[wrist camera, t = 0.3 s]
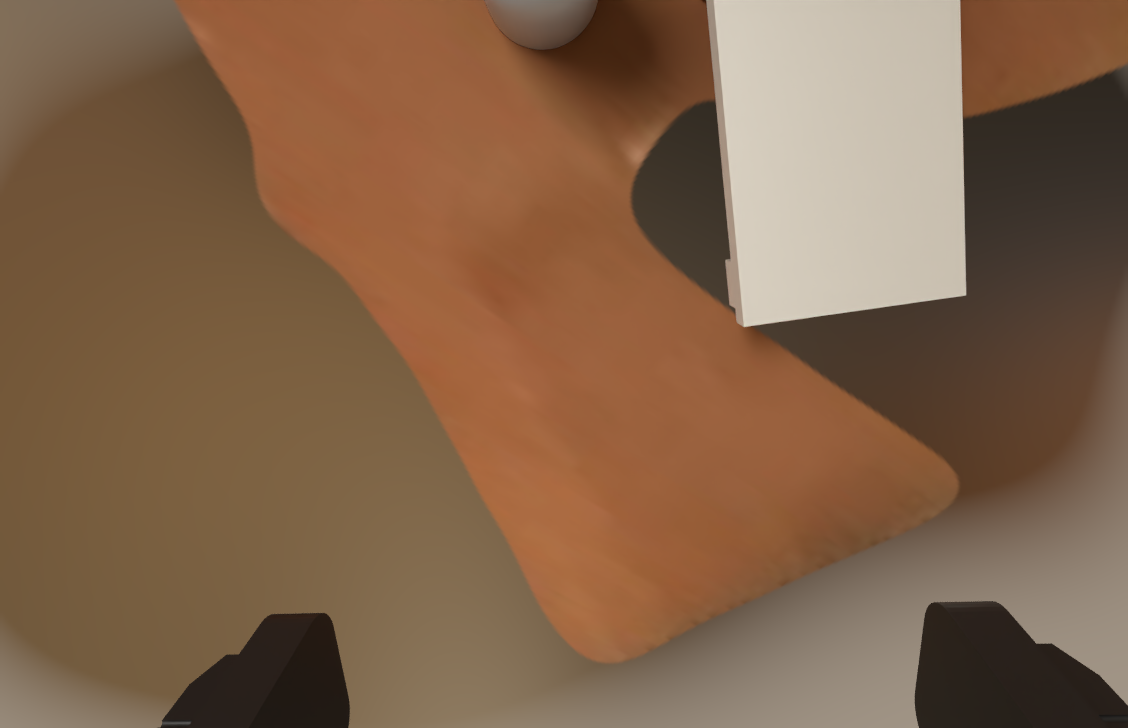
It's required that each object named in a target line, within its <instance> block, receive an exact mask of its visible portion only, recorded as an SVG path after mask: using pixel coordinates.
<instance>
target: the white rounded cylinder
mask: <svg viewBox="0 0 1128 728" xmlns="http://www.w3.org/2000/svg"><path fill="white" fill-rule="evenodd" d="M484 1H485V4H486V6H487V8H488V11H489V13H490V15H491V17H492V19H493V21H494V22H495V24H496V25H497V27H498V28H499V29H500V30H501V32H502V33H503V34H504V35H506V36H507V37H508V38H509V39H510V40H512V41H513V42H515V43H517V44H519V45H521V46H524V47H527V48H530V49H536V50H547V49H553V48H558V47H560V46H563V45H565V44H567V43H569V42H570V41H572V40H573V39H575V38H576V37H577V36H578V35H579V34H580V33H581V32H582V31H583V30H584V29H585V28H586V27H587V25H588V24H589V22H590V20H591V19H592V17H593V15H594V12H595V10H596V7H597V3H598V0H484Z"/></svg>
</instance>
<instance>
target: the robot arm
mask: <svg viewBox="0 0 1128 728" xmlns="http://www.w3.org/2000/svg"><path fill="white" fill-rule="evenodd" d="M915 710H916V716H917V721H918V726H919V728H1128V706H1127V705H1126V703H1125V702H1124V701H1123V700H1122V699H1121V698H1120V697H1119V696H1118V695H1117V694H1116V693H1115V692H1114V691H1113V689H1112V688H1111V687H1110V686H1109V685H1108V684H1107V683H1106V682H1105V681H1104V680H1103V679H1102V678H1101V677H1100V676H1099V675H1098V674H1096V673H1095V672H1093V671H1092V670H1090V669H1089V668H1087V667H1086V666H1084V665H1083V664H1081V663H1080V662H1078V661H1077V660H1075V659H1074V658H1072V657H1071V656H1069V655H1068V654H1066V653H1065V652H1063V651H1062V650H1060V649H1059V648H1057V647H1056V646H1054V645H1053V644H1036V643H1035V642H1034V641H1033V639H1032V638H1031V637H1030V636H1029V635H1028V634H1027V633H1026V631H1025V630H1024V629H1023V628H1022V627H1021V626H1020V625H1019V623H1018V622H1017V621H1016V620H1015V619H1014V618H1013V617H1012V615H1011V614H1010V613H1009V612H1008V611H1007V610H1006V609H1005V608H1004V607H1003V606H1002V605H1001V604H999V603H997V602H993V601H983V602H934V603H931V604H930V605H929V606H928V608H927V610H926V613H925V618H924V626H923V634H922V642H921V650H920V658H919V665H918V674H917V682H916V690H915ZM349 714H350V706H349V698H348V692H347V688H346V683H345V678H344V673H343V669H342V664H341V660H340V655H339V650H338V645H337V641H336V636H335V631H334V627H333V623H332V620H331V619H330V617H329V616H328V615H327V614H325V613H302V614H271V615H269V616H267V617H266V618H265V619H264V620H263V621H262V623H261V624H260V625H259V627H258V628H257V630H256V631H255V632H254V634H253V635H252V637H251V638H250V640H249V641H248V642H247V644H246V645H245V647H244V648H243V650H242V651H241V652H240V654H239V655H226V656H224V657H223V658H222V659H221V660H220V661H218V662H217V663H216V664H214V665H213V666H212V667H211V668H210V669H208V670H207V671H206V672H204V673H203V674H202V675H201V676H199V677H198V678H197V679H196V680H195V681H193V682H192V683H191V684H189V686H188V687H187V688H186V690H185V691H184V693H183V694H182V695H181V696H180V698H179V699H178V700H177V702H176V703H175V704H174V705H173V707H172V708H171V710H170V711H169V712H168V714H167V715H166V716H165V717H164V719H163V720H162V726H161V727H160V728H348V726H349Z"/></svg>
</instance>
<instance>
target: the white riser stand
mask: <svg viewBox="0 0 1128 728" xmlns="http://www.w3.org/2000/svg"><path fill="white" fill-rule="evenodd" d="M706 2H707V13H708V24H709V34H710V45H711V55H712V66H713V77H714V87H715V98H716V107H717V118H718V129H719V140H720V150H721V161H722V172H723V182H724V193H725V203H726V214H727V224H728V234H729V235H728V236H729V246H730V257H731V259H728V260H725V261H726V272H727V283H728V293H729V303H730V305H731V306H732V307H734V308H735V310H736V320H737V323H739V324H740V325H742V326H743V327H747V326H754V325H761V324H768V323H776V322H783V321H789V320H796V319H804V318H811V317H817V316H825V315H832V314H839V313H846V312H853V311H859V310H867V309H873V308H881V307H888V306H895V305H902V304H909V303H916V302H923V301H930V300H937V299H945V298H952V297H959V296H965V295H966V267H965V220H964V219H965V217H964V170H963V118H962V69H961V19H960V0H706Z"/></svg>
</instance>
